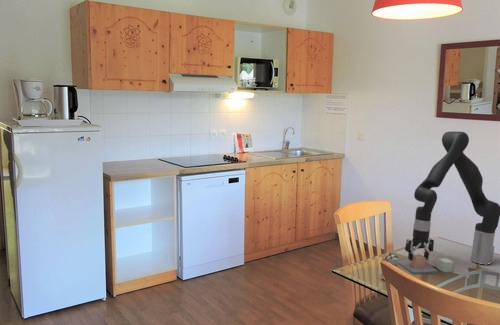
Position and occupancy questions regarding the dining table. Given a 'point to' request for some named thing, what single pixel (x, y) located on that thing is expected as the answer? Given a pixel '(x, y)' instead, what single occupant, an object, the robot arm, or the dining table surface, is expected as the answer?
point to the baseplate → (417, 270)
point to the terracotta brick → (418, 261)
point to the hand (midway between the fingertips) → (418, 259)
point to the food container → (392, 259)
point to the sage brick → (445, 265)
